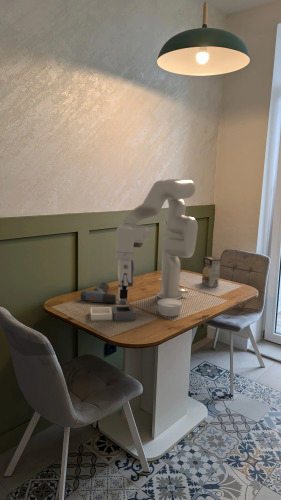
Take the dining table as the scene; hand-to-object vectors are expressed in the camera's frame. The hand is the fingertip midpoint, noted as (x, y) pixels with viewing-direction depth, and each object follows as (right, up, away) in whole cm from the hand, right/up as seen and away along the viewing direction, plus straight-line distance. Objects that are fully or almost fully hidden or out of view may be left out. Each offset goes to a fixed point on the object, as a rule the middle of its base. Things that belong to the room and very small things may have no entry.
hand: (122, 296), depth 155 cm
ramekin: (+21, -9, +9) cm, 24 cm away
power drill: (-10, -5, +28) cm, 30 cm away
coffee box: (+49, -1, +57) cm, 75 cm away
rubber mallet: (+2, 0, +49) cm, 49 cm away
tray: (-10, -9, +2) cm, 13 cm away
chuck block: (0, -9, +2) cm, 9 cm away
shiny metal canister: (0, -3, +1) cm, 3 cm away
